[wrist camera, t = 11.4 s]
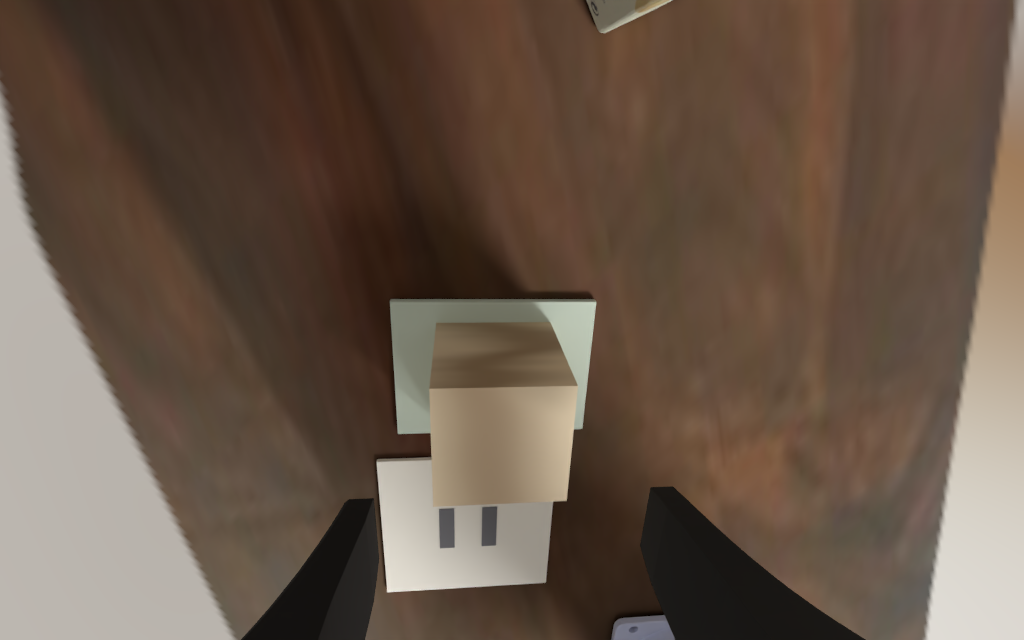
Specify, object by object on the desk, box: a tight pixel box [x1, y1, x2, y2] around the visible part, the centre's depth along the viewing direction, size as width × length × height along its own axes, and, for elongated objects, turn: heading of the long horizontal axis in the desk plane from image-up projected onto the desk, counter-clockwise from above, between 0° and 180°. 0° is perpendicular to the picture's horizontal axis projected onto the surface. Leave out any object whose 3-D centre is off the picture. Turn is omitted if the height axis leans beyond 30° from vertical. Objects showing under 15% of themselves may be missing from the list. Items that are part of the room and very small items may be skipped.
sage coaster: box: [390, 299, 596, 434], centre depth 20 cm, size 8×6×1 cm
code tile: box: [377, 457, 553, 592], centre depth 24 cm, size 8×8×1 cm
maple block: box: [429, 322, 578, 507], centre depth 18 cm, size 4×4×5 cm
